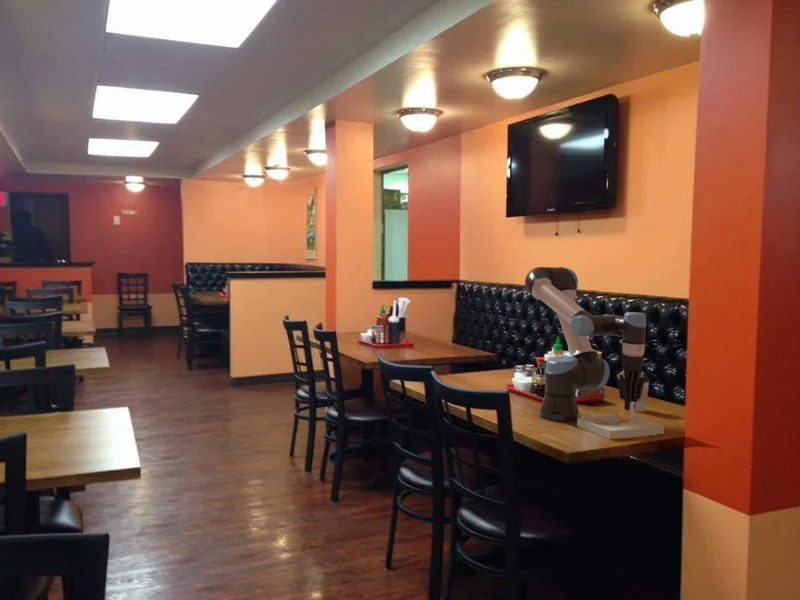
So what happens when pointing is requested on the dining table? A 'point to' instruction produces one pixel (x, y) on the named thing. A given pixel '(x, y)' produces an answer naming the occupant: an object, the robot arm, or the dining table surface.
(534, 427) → the dining table surface
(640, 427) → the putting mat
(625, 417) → the ball
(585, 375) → the robot arm
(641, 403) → the coffee cup
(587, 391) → the tin
